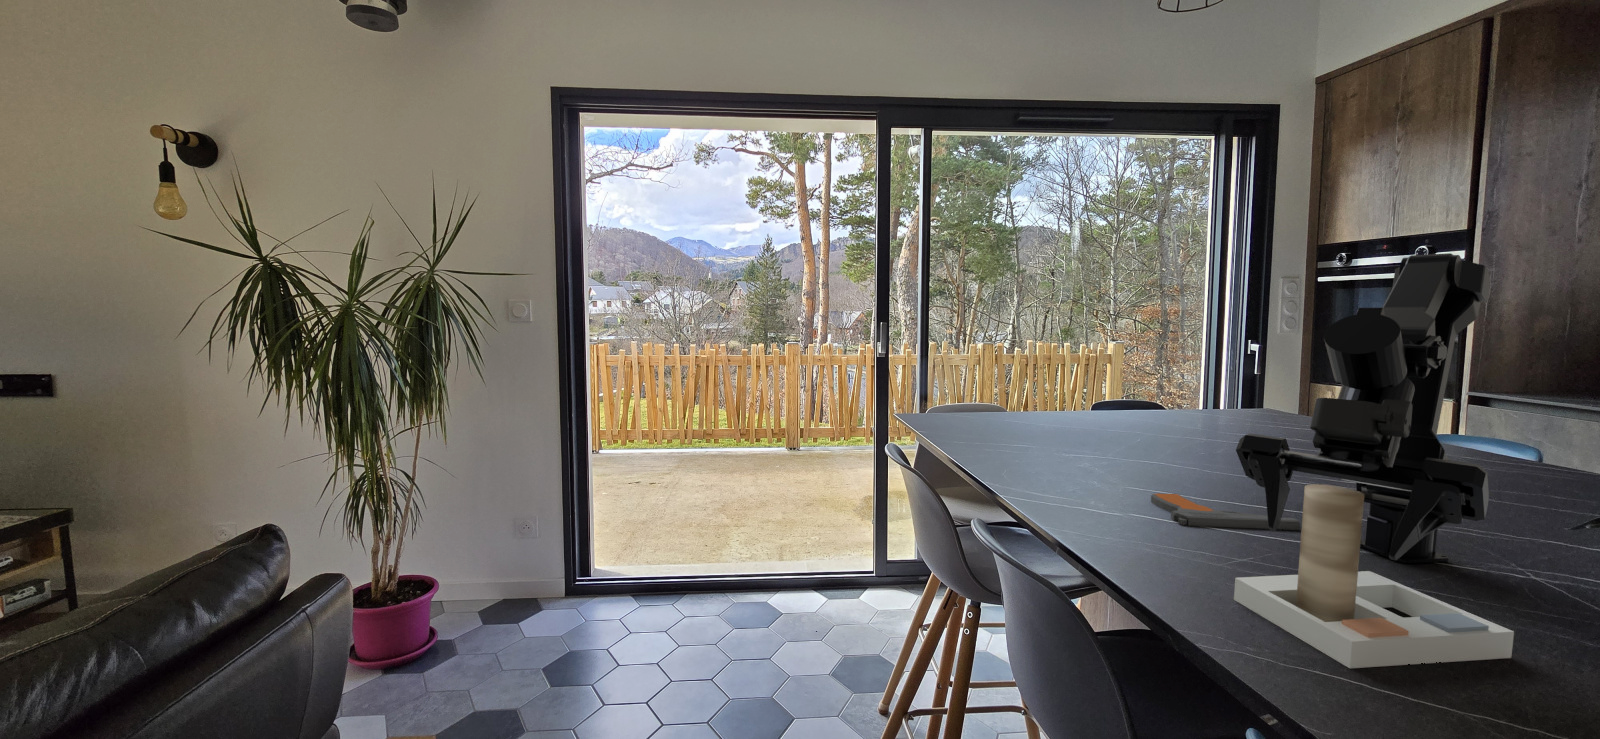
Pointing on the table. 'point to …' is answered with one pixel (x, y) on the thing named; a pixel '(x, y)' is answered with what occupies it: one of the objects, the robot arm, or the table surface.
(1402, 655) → the socket board
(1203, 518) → the orange-tipped hinged bar
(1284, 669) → the table surface
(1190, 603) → the table surface
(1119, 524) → the table surface
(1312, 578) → the plug
